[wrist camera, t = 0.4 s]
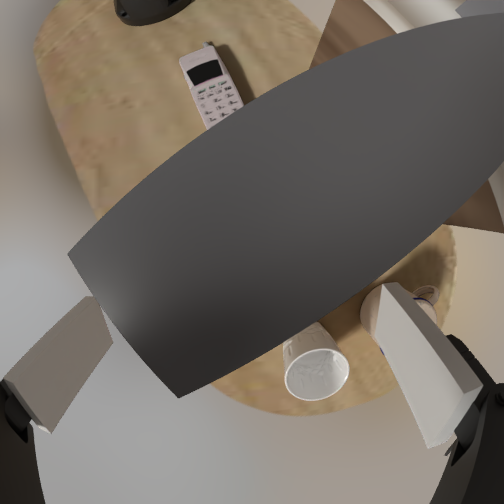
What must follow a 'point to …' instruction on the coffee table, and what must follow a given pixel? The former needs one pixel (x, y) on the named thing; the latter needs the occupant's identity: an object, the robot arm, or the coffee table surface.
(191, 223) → the gray block
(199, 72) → the mobile phone
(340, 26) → the brown wooden tall block
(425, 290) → the teacup with lid
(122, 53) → the coffee table surface
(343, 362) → the white cup
